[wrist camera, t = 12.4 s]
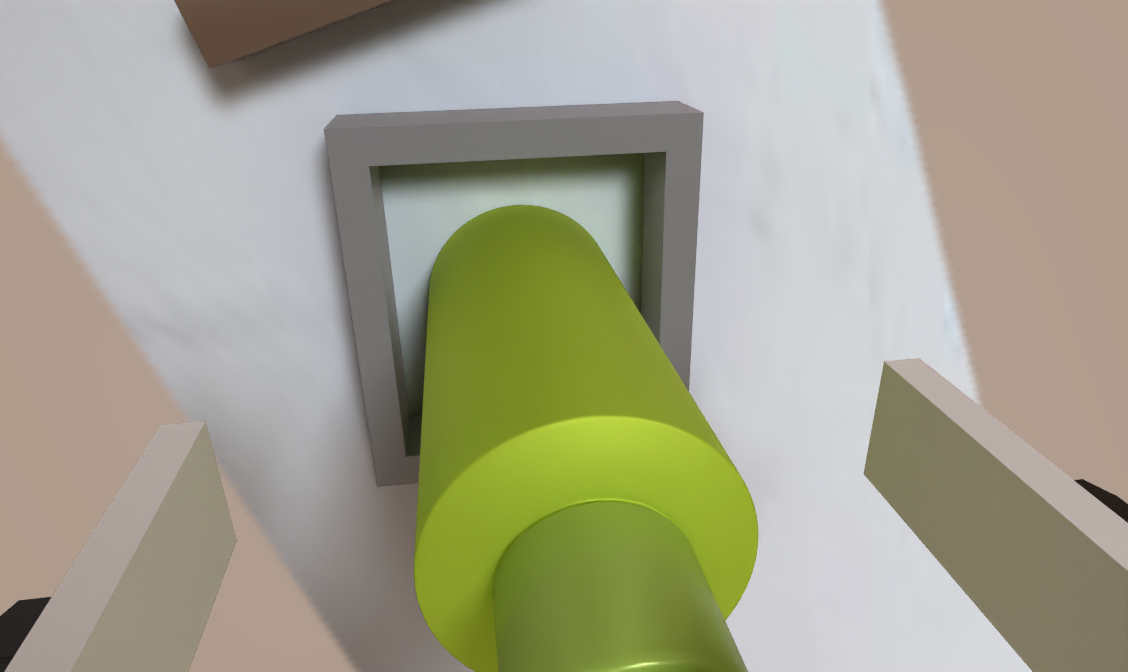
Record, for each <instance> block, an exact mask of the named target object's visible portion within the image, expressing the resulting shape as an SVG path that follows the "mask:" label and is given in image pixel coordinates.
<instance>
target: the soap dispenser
mask: <svg viewBox="0 0 1128 672" xmlns="http://www.w3.org/2000/svg"><path fill="white" fill-rule="evenodd" d="M757 548H758V523H757V516H756V511H755V507H754V504H753V501H752V498H751V495H750V493H749V491H748V488H747V486H746V484H745V482H744V481H743V479H742V477H741V476H740V474H739V472H738V471H737V469H736V467H735V466H734V464H733V463H732V461H731V459H730V458H729V456H728V454H727V453H726V451H725V450H724V448H723V446H722V445H721V443H720V442H719V440H718V438H717V437H716V435H715V433H714V432H713V430H712V429H711V427H710V425H709V424H708V422H707V421H706V419H705V417H704V416H703V414H702V412H701V411H700V409H699V408H698V406H697V404H696V403H695V401H694V399H693V398H692V396H691V395H690V393H689V391H688V390H687V388H686V387H685V385H684V383H683V382H682V380H681V378H680V377H679V375H678V374H677V372H676V370H675V369H674V367H673V366H672V364H671V362H670V361H669V359H668V357H667V356H666V354H665V353H664V351H663V349H662V348H661V346H660V344H659V343H658V341H657V340H656V338H655V336H654V335H653V333H652V332H651V330H650V328H649V327H648V325H647V323H646V322H645V320H644V319H643V317H642V315H641V314H640V312H639V311H638V309H637V307H636V306H635V304H634V302H633V301H632V299H631V298H630V296H629V294H628V293H627V291H626V289H625V288H624V286H623V285H622V283H621V281H620V280H619V278H618V277H617V275H616V273H615V272H614V270H613V268H612V267H611V265H610V264H609V262H608V260H607V259H606V257H605V256H604V254H603V252H602V251H601V249H600V247H599V246H598V244H597V243H596V241H595V240H594V239H593V237H592V236H591V235H590V234H589V233H588V232H587V231H586V230H585V229H584V228H583V227H582V226H581V225H579V224H578V223H577V222H575V221H574V220H572V219H571V218H569V217H567V216H566V215H564V214H562V213H559V212H557V211H554V210H551V209H548V208H544V207H539V206H532V205H513V206H506V207H501V208H497V209H493V210H490V211H488V212H485V213H483V214H481V215H479V216H477V217H475V218H473V219H472V220H470V221H468V222H467V223H466V224H464V225H463V226H462V227H461V228H459V229H458V230H457V231H456V232H455V233H454V234H453V235H452V236H451V237H450V238H449V240H448V241H447V242H446V244H445V245H444V246H443V248H442V250H441V251H440V253H439V255H438V257H437V259H436V261H435V264H434V267H433V270H432V274H431V278H430V286H429V302H428V320H427V338H426V356H425V375H424V393H423V411H422V429H421V447H420V465H419V483H418V501H417V519H416V538H415V556H414V582H415V590H416V595H417V600H418V603H419V606H420V609H421V612H422V614H423V616H424V619H425V621H426V623H427V625H428V626H429V628H430V630H431V631H432V633H433V634H434V636H435V637H436V638H437V640H438V641H439V642H440V643H441V644H442V646H443V647H444V648H445V649H446V650H447V651H448V652H449V653H450V654H451V655H452V656H454V657H455V658H456V659H457V660H459V661H460V662H461V663H463V664H464V665H465V666H467V667H468V668H470V669H471V670H473V671H475V672H748V671H747V669H746V666H745V664H744V662H743V660H742V657H741V655H740V653H739V651H738V649H737V646H736V644H735V642H734V640H733V637H732V635H731V633H730V631H729V628H728V626H727V624H726V622H725V620H726V619H727V618H728V616H729V615H730V614H731V612H732V611H733V610H734V608H735V607H736V605H737V604H738V602H739V600H740V599H741V597H742V595H743V593H744V591H745V589H746V587H747V585H748V582H749V580H750V577H751V574H752V571H753V568H754V564H755V560H756V555H757Z"/></svg>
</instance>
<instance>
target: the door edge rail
mask: <svg viewBox="0 0 1128 672" xmlns="http://www.w3.org/2000/svg"><path fill="white" fill-rule="evenodd" d="M174 1H175V3H176V5H177V7H178V9H179V10H180V12H181V14H182V16H183V18H184V20H185V22H186V24H187V26H188V28H189V30H190V32H191V34H192V35H193V37H194V39H195V41H196V43H197V45H198V47H199V49H200V51H201V53H202V55H203V57H204V59H205V60H206V62H207V64H208V66H209V68H212V67H215V66H219V65H222V64H225V63H229V62H232V61H235V60H238V59H241V58H243V57H246V56H249V55H251V54H254V53H257V52H259V51H262V50H265V49H267V48H270V47H273V46H275V45H278V44H281V43H283V42H286V41H289V40H291V39H294V38H297V37H299V36H302V35H305V34H307V33H310V32H313V31H315V30H318V29H321V28H323V27H326V26H328V25H331V24H334V23H336V22H339V21H342V20H344V19H347V18H350V17H352V16H355V15H358V14H360V13H363V12H366V11H368V10H371V9H374V8H376V7H379V6H382V5H384V4H387V3H390V2H392V1H395V0H174Z"/></svg>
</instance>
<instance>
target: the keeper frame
mask: <svg viewBox="0 0 1128 672" xmlns="http://www.w3.org/2000/svg"><path fill="white" fill-rule="evenodd" d="M703 114H704V112H701V111H699V110H697V109H695V108H692V107H690V106H688V105H686V104H683V103H681V102H679V101H667V102H643V103H618V104H594V105H570V106H545V107H521V108H497V109H472V110H448V111H424V112H399V113H375V114H351V115H336V116H335V117H334V119H333V120H332V121H331V122H330V123H329V124H328V125H327V126H326V127H325V128H324V133H325V140H326V146H327V153H328V160H329V167H330V173H331V180H332V187H333V194H334V200H335V207H336V214H337V221H338V227H339V234H340V241H341V248H342V254H343V261H344V268H345V274H346V281H347V288H348V295H349V301H350V308H351V315H352V322H353V328H354V335H355V342H356V349H357V355H358V362H359V369H360V375H361V382H362V389H363V396H364V402H365V409H366V416H367V423H368V429H369V436H370V443H371V450H372V456H373V463H374V470H375V476H376V483H377V487H379V486H389V485H400V484H410V483H419V465H420V447H421V429H422V415H421V416H409V410H408V401H407V393H406V385H405V377H404V368H403V360H402V352H401V344H400V336H399V327H398V319H397V311H396V303H395V294H394V286H393V278H392V270H391V262H390V253H389V245H388V237H387V229H386V220H385V212H384V204H383V196H382V188H381V179H380V171H379V166H386V165H406V164H426V163H446V162H467V161H487V160H507V159H527V158H548V157H568V156H588V155H609V154H629V153H644V190H643V235H642V279H641V315H642V317H643V319H644V320H645V322H646V323H647V325H648V327H649V328H650V330H651V332H652V333H653V335H654V336H655V338H656V340H657V341H658V343H659V344H660V346H661V348H662V349H663V351H664V353H665V354H666V356H667V357H668V359H669V361H670V362H671V364H672V366H673V367H674V369H675V370H676V372H677V374H678V375H679V377H680V378H681V380H682V382H683V383H684V385H685V387H686V388H687V390H688V391H689V378H690V359H691V340H692V321H693V302H694V284H695V265H696V246H697V227H698V208H699V190H700V171H701V152H702V133H703Z"/></svg>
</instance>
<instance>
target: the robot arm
mask: <svg viewBox="0 0 1128 672" xmlns="http://www.w3.org/2000/svg"><path fill="white" fill-rule="evenodd" d="M864 475H865V476H866V477H867V478H868V479H869V481H870V482H871V483H872V484H873V485H874V486H875V488H876V489H877V490H878V491H879V492H880V493H881V495H882V496H883V497H884V498H885V499H886V500H887V502H888V503H889V504H890V505H891V506H892V508H893V509H894V510H895V511H896V512H897V513H898V515H899V516H900V517H901V518H902V519H903V520H904V522H905V523H906V524H907V525H908V526H909V527H910V529H911V530H912V531H913V532H914V533H915V534H916V536H917V537H918V538H919V539H920V540H921V541H922V543H923V544H924V545H925V546H926V547H927V548H928V550H929V551H930V552H931V553H932V554H933V555H934V557H935V558H936V559H937V560H938V561H939V563H940V564H941V565H942V566H943V567H944V568H945V570H946V571H947V572H948V573H949V574H950V575H951V577H952V578H953V579H954V580H955V581H956V582H957V584H958V585H959V586H960V587H961V588H962V589H963V591H964V592H965V593H966V594H967V595H968V596H969V598H970V599H971V600H972V601H973V602H974V603H975V605H976V606H977V607H978V608H979V609H980V610H981V612H982V613H983V614H984V615H985V616H986V618H987V619H988V620H989V621H990V622H991V623H992V625H993V626H994V627H995V628H996V629H997V630H998V632H999V633H1000V634H1001V635H1002V636H1003V637H1004V639H1005V640H1006V641H1007V642H1008V643H1009V644H1010V646H1011V647H1012V648H1013V649H1014V650H1015V651H1016V653H1017V654H1018V655H1019V656H1020V657H1021V658H1022V660H1023V661H1024V662H1025V663H1026V664H1027V665H1028V667H1029V668H1030V669H1031V670H1032V671H1033V672H1128V504H1127V503H1126V502H1124V501H1123V500H1122V499H1120V498H1119V497H1117V496H1116V495H1114V494H1112V493H1109V492H1107V491H1105V490H1103V489H1101V488H1099V487H1097V486H1095V485H1093V484H1091V483H1089V482H1087V481H1085V480H1083V479H1080V480H1073V479H1071V478H1070V477H1069V476H1068V475H1066V474H1065V473H1064V472H1062V471H1061V470H1060V469H1058V467H1056V466H1055V465H1054V464H1052V463H1051V462H1050V461H1049V460H1047V459H1046V458H1045V457H1043V456H1042V455H1041V454H1040V453H1039V452H1037V451H1036V450H1035V449H1033V448H1032V447H1031V446H1030V445H1028V444H1027V443H1026V442H1025V441H1023V440H1022V439H1021V438H1020V437H1018V436H1017V435H1016V434H1014V433H1013V432H1012V431H1011V430H1009V429H1008V428H1007V427H1006V426H1004V425H1003V424H1002V423H1001V422H999V421H998V420H996V418H994V417H993V416H992V415H991V414H989V413H988V412H987V411H985V410H984V409H983V408H982V407H980V406H979V405H978V404H977V403H975V402H974V401H973V400H972V399H970V398H969V397H968V396H967V395H965V394H964V393H963V392H961V391H960V390H959V389H958V388H956V387H955V386H954V385H953V384H951V383H950V382H949V381H948V380H946V379H945V378H944V377H943V376H941V375H940V374H939V373H937V372H936V371H935V370H934V369H932V368H931V367H930V366H929V365H927V364H926V363H925V362H924V361H922V360H921V359H920V358H917V359H905V360H894V361H884V365H883V371H882V376H881V382H880V387H879V393H878V398H877V404H876V409H875V414H874V420H873V425H872V431H871V436H870V442H869V447H868V453H867V458H866V464H865V469H864ZM236 541H237V540H236V537H235V533H234V529H233V525H232V521H231V517H230V514H229V509H228V505H227V502H226V498H225V495H224V490H223V486H222V482H221V478H220V475H219V471H218V467H217V463H216V459H215V455H214V451H213V448H212V444H211V440H210V436H209V432H208V428H207V424H206V421H199V422H187V423H176V424H165V425H161V426H160V427H159V429H158V430H157V432H156V434H155V435H154V437H153V438H152V440H151V442H150V443H149V445H148V446H147V448H146V449H145V451H144V453H143V454H142V456H141V457H140V459H139V460H138V462H137V464H136V465H135V467H134V468H133V470H132V471H131V473H130V475H129V476H128V478H127V479H126V481H125V482H124V484H123V486H122V487H121V489H120V490H119V492H118V493H117V495H116V497H115V498H114V500H113V501H112V503H111V505H110V506H109V508H108V509H107V511H106V512H105V514H104V516H103V517H102V519H101V521H100V522H99V523H98V525H97V527H96V528H95V530H94V531H93V533H92V534H91V536H90V538H89V539H88V541H87V542H86V544H85V545H84V547H83V549H82V550H81V552H80V553H79V555H78V557H77V558H76V560H75V561H74V563H73V564H72V566H71V568H70V569H69V571H68V572H67V574H66V576H65V577H64V579H63V580H62V582H61V583H60V585H59V586H58V588H57V590H56V591H55V593H54V594H53V596H52V597H46V598H38V599H29V600H19V601H18V602H17V603H15V604H14V605H13V606H12V607H11V608H9V609H8V610H7V611H6V612H5V613H3V614H2V615H1V616H0V672H188V671H189V669H190V666H191V663H192V660H193V658H194V655H195V652H196V650H197V647H198V644H199V641H200V639H201V636H202V633H203V631H204V628H205V625H206V622H207V620H208V617H209V614H210V612H211V609H212V606H213V603H214V601H215V598H216V595H217V593H218V590H219V587H220V584H221V581H222V579H223V576H224V574H225V571H226V568H227V565H228V563H229V560H230V557H231V555H232V552H233V549H234V546H235V543H236Z"/></svg>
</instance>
